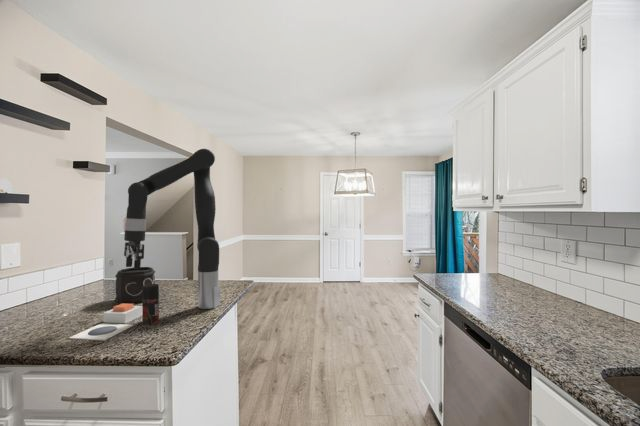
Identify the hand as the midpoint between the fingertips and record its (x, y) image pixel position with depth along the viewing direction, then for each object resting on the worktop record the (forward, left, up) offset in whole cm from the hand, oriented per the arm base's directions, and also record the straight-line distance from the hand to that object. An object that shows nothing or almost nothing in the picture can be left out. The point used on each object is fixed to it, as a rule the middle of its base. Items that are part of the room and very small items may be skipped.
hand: (132, 268), depth 128 cm
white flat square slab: (+2, +13, -22) cm, 26 cm away
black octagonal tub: (+20, -28, -22) cm, 41 cm away
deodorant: (-9, +1, -22) cm, 24 cm away
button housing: (+5, -1, -22) cm, 23 cm away
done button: (+5, -1, -19) cm, 20 cm away
